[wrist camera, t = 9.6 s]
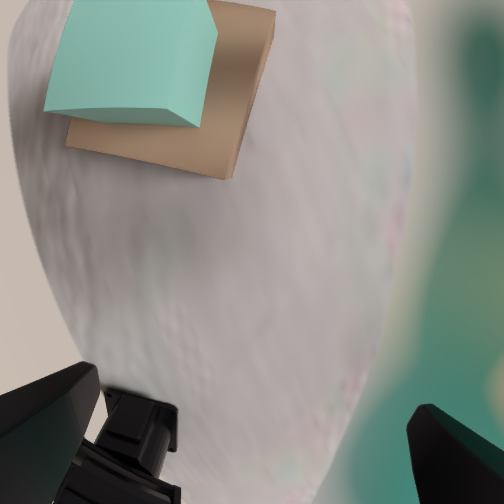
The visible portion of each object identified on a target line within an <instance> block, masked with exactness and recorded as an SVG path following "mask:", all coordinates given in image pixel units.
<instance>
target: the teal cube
mask: <svg viewBox="0 0 504 504" xmlns="http://www.w3.org/2000/svg"><path fill="white" fill-rule="evenodd" d="M217 35H218V31H217V28H216V26H215V23H214V20H213V17H212V14H211V12H210V9H209V6H208V3H207V1H206V0H74V2H73V5H72V8H71V10H70V13H69V16H68V18H67V21H66V24H65V27H64V30H63V33H62V36H61V39H60V43H59V46H58V49H57V53H56V56H55V60H54V64H53V68H52V72H51V76H50V80H49V85H48V89H47V94H46V99H45V105H44V110H43V111H45V112H51V113H57V114H62V115H68V116H73V117H78V118H83V119H88V120H93V121H97V122H102V123H130V124H154V125H170V126H184V127H195V128H200V122H201V116H202V110H203V105H204V99H205V94H206V88H207V83H208V78H209V73H210V68H211V63H212V58H213V53H214V48H215V44H216V39H217Z"/></svg>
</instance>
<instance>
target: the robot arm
mask: <svg viewBox="0 0 504 504" xmlns="http://www.w3.org/2000/svg"><path fill="white" fill-rule="evenodd" d="M99 395H100V382H99V376H98V370H97V367H96V366H95V365H94V364H91V363H88V362H85V361H82V362H79V363H77V364H74V365H72V366H69V367H67V368H65V369H63V370H60V371H58V372H56V373H53V374H51V375H48V376H46V377H44V378H41V379H39V380H36V381H34V382H32V383H30V384H27V385H24V386H22V387H20V388H17V389H15V390H12V391H10V392H7V393H5V394H2V395H0V504H52V502H53V501H54V502H53V504H181V487H178V486H176V485H171V484H169V483H167V482H164V481H162V480H160V479H159V476H160V472H161V469H162V466H163V463H164V459H165V456H166V453H167V451H169V452H176V451H177V437H178V409H177V408H176V407H174V406H171V405H167V404H163V403H159V402H155V401H151V400H148V399H144V398H140V397H137V396H133V395H130V394H127V393H123V392H120V391H117V390H114V389H111V388H107V389H106V390H105V392H104V396H105V402H106V407H107V413H108V418H107V420H106V422H105V423H104V425H103V427H102V429H101V431H100V432H99V434H98V436H97V438H96V440H95V442H94V444H93V443H91V442H90V441H88V440H87V439H85V437H84V434H85V432H86V429H87V427H88V424H89V421H90V419H91V416H92V413H93V411H94V408H95V405H96V403H97V400H98V397H99ZM172 411H173V412H172ZM406 431H407V437H408V444H409V450H410V457H411V465H412V471H413V475H414V480H415V484H416V489H417V493H418V497H419V502H420V504H504V451H503V450H501V449H500V448H498V447H497V446H495V445H494V444H492V443H490V442H489V441H487V440H486V439H484V438H483V437H481V436H480V435H478V434H477V433H475V432H474V431H472V430H471V429H469V428H468V427H466V426H465V425H463V424H462V423H460V422H459V421H457V420H455V419H454V418H453V417H451V416H450V415H448V414H447V413H445V412H444V411H442V410H441V409H439V408H438V407H436V406H435V405H433V404H421V405H419V406H418V407H417V409H416V410H415V412H414V414H413V415H412V417H411V419H410V420H409V422H408V424H407V429H406Z"/></svg>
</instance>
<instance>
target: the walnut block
mask: <svg viewBox="0 0 504 504" xmlns="http://www.w3.org/2000/svg"><path fill="white" fill-rule="evenodd" d="M206 1H207V3H208V6H209V9H210V12H211V14H212V17H213V20H214V23H215V26H216V28H217V31H218V35H217V39H216V44H215V48H214V53H213V58H212V63H211V68H210V73H209V78H208V83H207V88H206V94H205V99H204V105H203V110H202V116H201V122H200V128H195V127H184V126H170V125H154V124H130V123H102V122H97V121H93V120H88V119H83V118H78V117H73V116H71V120H70V125H69V129H68V133H67V138H66V143H65V146H68V147H74V148H80V149H85V150H91V151H96V152H102V153H107V154H112V155H117V156H122V157H127V158H132V159H137V160H141V161H146V162H151V163H155V164H160V165H164V166H168V167H173V168H177V169H181V170H186V171H190V172H194V173H198V174H202V175H206V176H210V177H214V178H218V179H222V180H226V179H229V178H232V176H233V172H234V169H235V165H236V161H237V158H238V154H239V151H240V147H241V143H242V140H243V136H244V133H245V129H246V126H247V123H248V119H249V116H250V112H251V109H252V106H253V102H254V99H255V96H256V92H257V89H258V86H259V82H260V79H261V76H262V73H263V69H264V66H265V63H266V60H267V57H268V54H269V50H270V47H271V44H272V41H273V38H274V27H275V15H276V11H274V10H269V9H264V8H260V7H254V6H249V5H243V4H237V3H230V2H223V1H215V0H206Z"/></svg>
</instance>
